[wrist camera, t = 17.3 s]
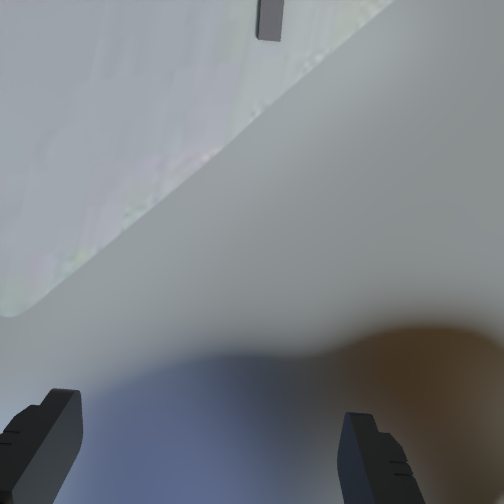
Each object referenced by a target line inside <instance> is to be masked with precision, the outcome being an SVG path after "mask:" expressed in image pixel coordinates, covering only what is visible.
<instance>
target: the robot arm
mask: <svg viewBox="0 0 504 504" xmlns="http://www.w3.org/2000/svg"><path fill="white" fill-rule="evenodd" d="M82 438H83V419H82V403H81V393H80V391H79V390H69V389H55V388H54V389H52V390H51V391H50V392H49V393H48V395H47V396H46V397H45V399H44V400H43V401H42V403H41V404H40V405H30V406H28V407H27V408H26V409H24V410H23V411H21V412H20V413H18V414H17V415H16V416H14V417H13V419H12V420H11V421H10V423H9V424H8V425H7V427H6V428H5V429H4V431H3V433H2V434H0V504H53V502H54V500H55V498H56V496H57V494H58V492H59V490H60V488H61V486H62V484H63V482H64V480H65V478H66V476H67V474H68V472H69V471H70V469H71V467H72V465H73V463H74V461H75V459H76V457H77V455H78V453H79V450H80V447H81V444H82ZM337 469H338V476H339V480H340V485H341V490H342V495H343V499H344V504H425V501H424V499H423V496H422V494H421V492H420V489H419V487H418V485H417V482H416V480H415V478H414V475H413V472H412V470H411V468H410V466H409V465H408V460H407V458H406V455H405V453H404V451H403V448H402V446H401V445H400V444H399V443H398V442H397V441H396V440H395V439H394V438H393V436H392V435H391V434H390V433H382V432H379V431H378V429H377V426H376V423H375V420H374V418H373V415H372V414H369V413H356V412H346V413H345V416H344V420H343V426H342V431H341V437H340V442H339V447H338V454H337Z"/></svg>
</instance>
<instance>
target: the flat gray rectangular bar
mask: <svg viewBox="0 0 504 504" xmlns="http://www.w3.org/2000/svg"><path fill="white" fill-rule="evenodd" d="M283 6H284V0H261V10H260V23H259V37H258V40H268V41H280V39H281V28H282V17H283Z"/></svg>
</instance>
